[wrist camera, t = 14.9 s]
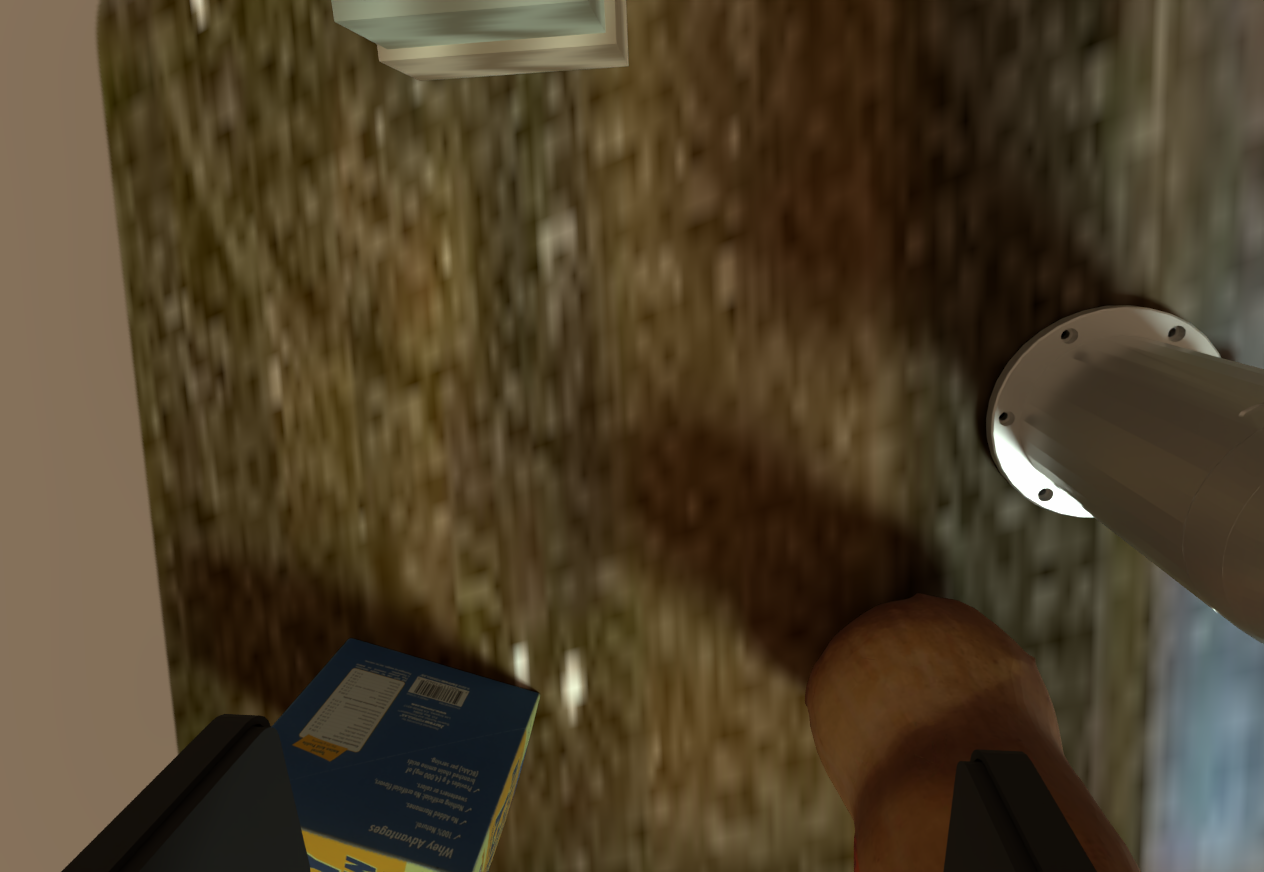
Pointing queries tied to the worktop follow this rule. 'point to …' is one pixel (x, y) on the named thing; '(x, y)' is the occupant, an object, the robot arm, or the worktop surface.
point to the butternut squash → (935, 729)
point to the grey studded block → (489, 35)
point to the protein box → (403, 762)
